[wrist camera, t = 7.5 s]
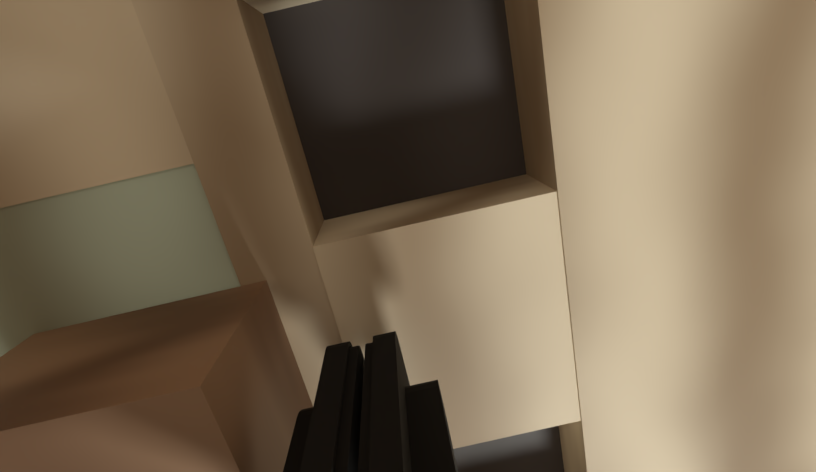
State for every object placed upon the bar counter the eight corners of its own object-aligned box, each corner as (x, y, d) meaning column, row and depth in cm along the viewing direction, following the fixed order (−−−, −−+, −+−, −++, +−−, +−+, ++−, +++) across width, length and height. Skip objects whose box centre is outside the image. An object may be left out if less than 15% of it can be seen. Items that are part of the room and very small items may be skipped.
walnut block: (266, 279, 11) (200, 386, 7) (333, 462, 12) (311, 625, 9) (33, 333, 11) (-159, 467, 7) (136, 506, 13) (29, 684, 9)
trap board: (931, -188, 10) (1480, -467, 5) (839, 442, 17) (1043, 597, 12) (-175, 72, 11) (-697, 53, 6) (151, 593, 17) (52, 811, 12)
